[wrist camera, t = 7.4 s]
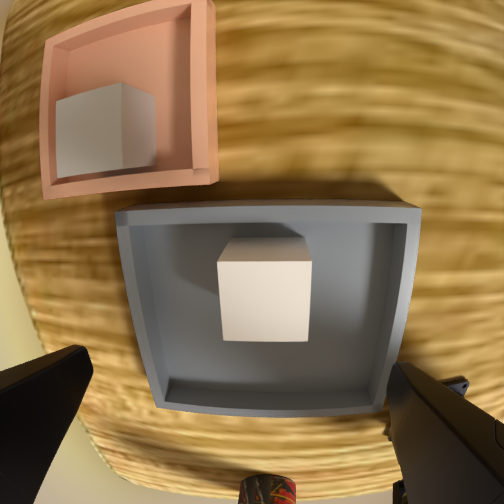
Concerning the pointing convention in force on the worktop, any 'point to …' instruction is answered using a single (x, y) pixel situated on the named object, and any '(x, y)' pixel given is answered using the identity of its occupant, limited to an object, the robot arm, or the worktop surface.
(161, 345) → the bin
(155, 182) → the dish
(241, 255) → the beige cube
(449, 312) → the worktop surface
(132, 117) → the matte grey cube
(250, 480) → the deodorant
